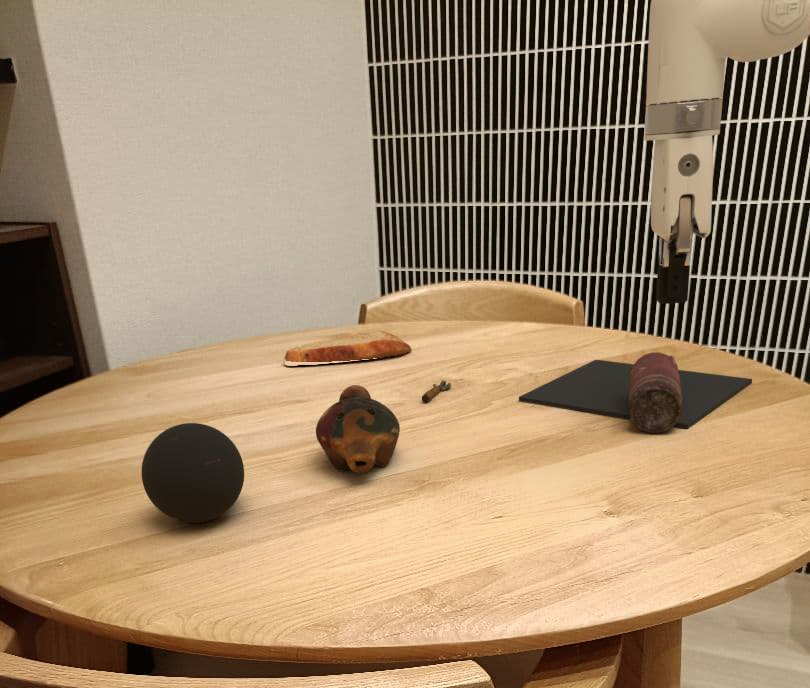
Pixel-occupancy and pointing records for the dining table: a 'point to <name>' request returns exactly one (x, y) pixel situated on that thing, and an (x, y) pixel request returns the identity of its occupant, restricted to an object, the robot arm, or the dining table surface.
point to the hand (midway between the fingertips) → (671, 301)
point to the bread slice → (350, 348)
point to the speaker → (192, 472)
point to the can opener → (434, 390)
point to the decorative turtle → (358, 431)
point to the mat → (610, 387)
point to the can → (655, 393)
